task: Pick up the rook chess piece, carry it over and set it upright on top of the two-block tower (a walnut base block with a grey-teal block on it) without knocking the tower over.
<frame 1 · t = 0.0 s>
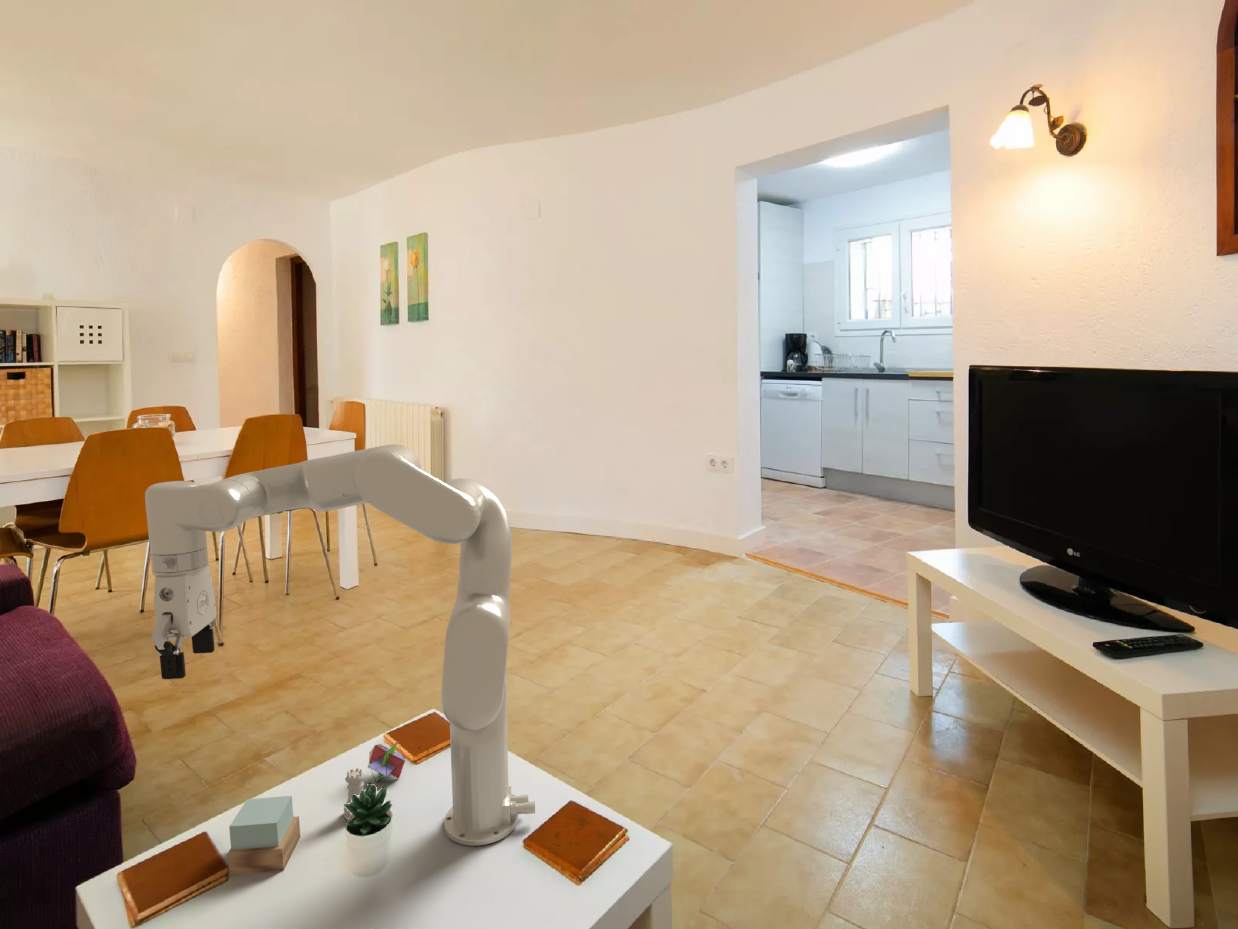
hand: (189, 664, 111), 31 cm above the table, tool pointing down, fingers open, 9 cm apart
tower base: (266, 856, 113), on the table, touching tower top
geometric puzzle: (387, 778, 134), on the table
rook chess piece: (357, 815, 123), on the table
tower top: (263, 833, 112), point 4 cm above the table, touching tower base
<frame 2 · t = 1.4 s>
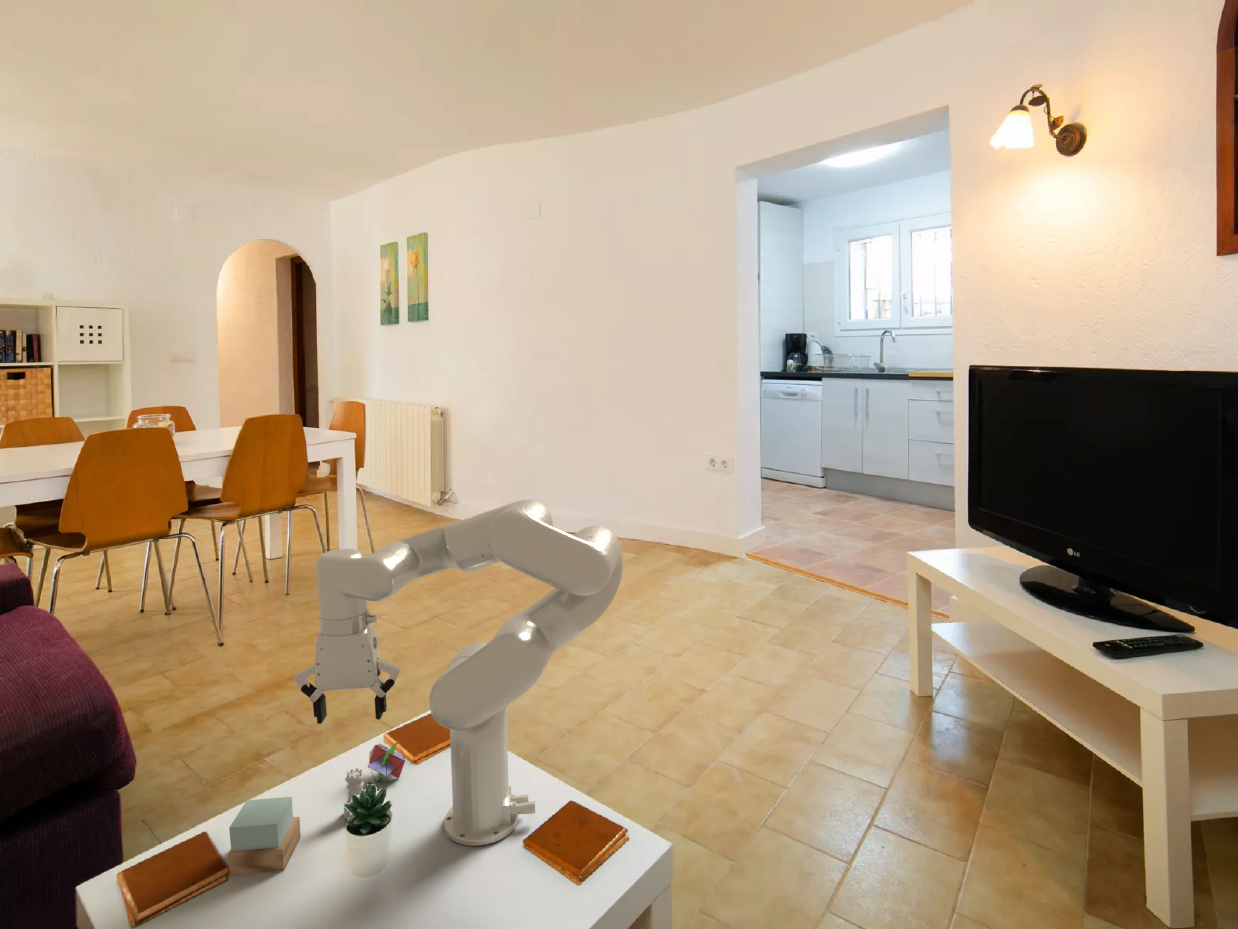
hand: (351, 717, 120), 18 cm above the table, tool pointing down, fingers open, 9 cm apart
nothing on the table moved.
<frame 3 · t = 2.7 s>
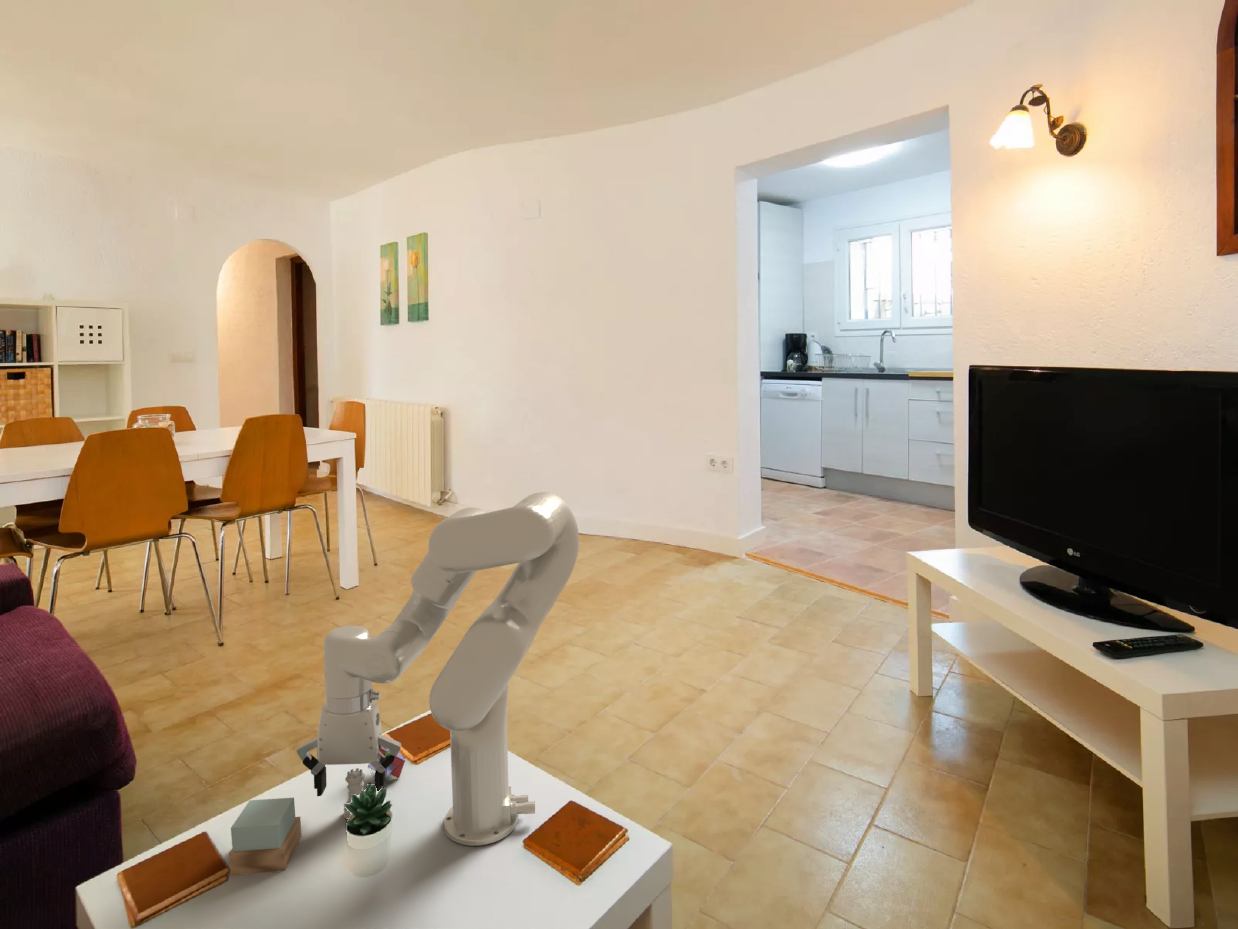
hand: (350, 790, 122), 4 cm above the table, tool pointing down, fingers open, 9 cm apart
nothing on the table moved.
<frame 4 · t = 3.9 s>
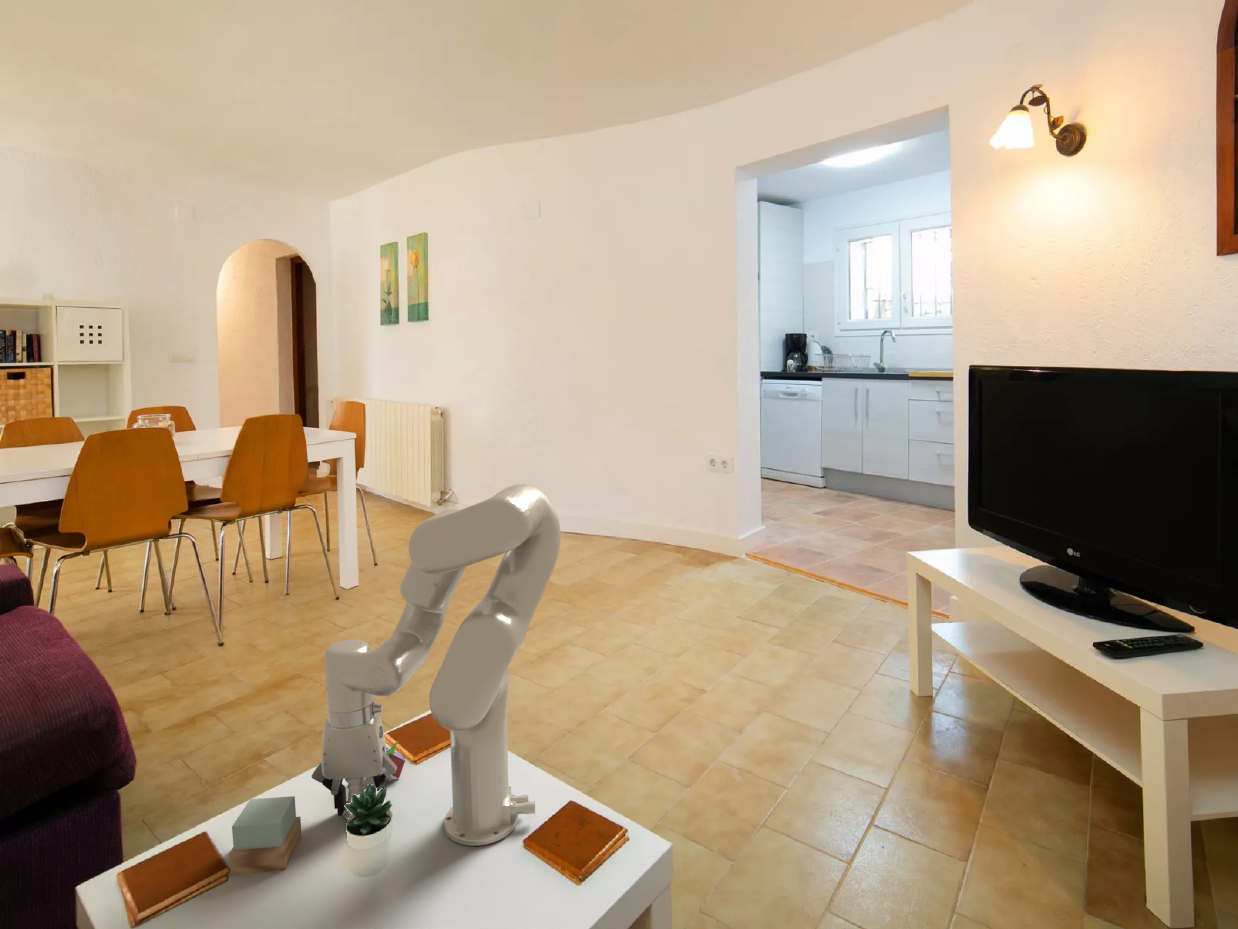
hand: (356, 809, 123), 1 cm above the table, tool pointing down, fingers closed on rook chess piece, 4 cm apart
rook chess piece: (357, 815, 123), on the table, touching gripper
everything else where it was.
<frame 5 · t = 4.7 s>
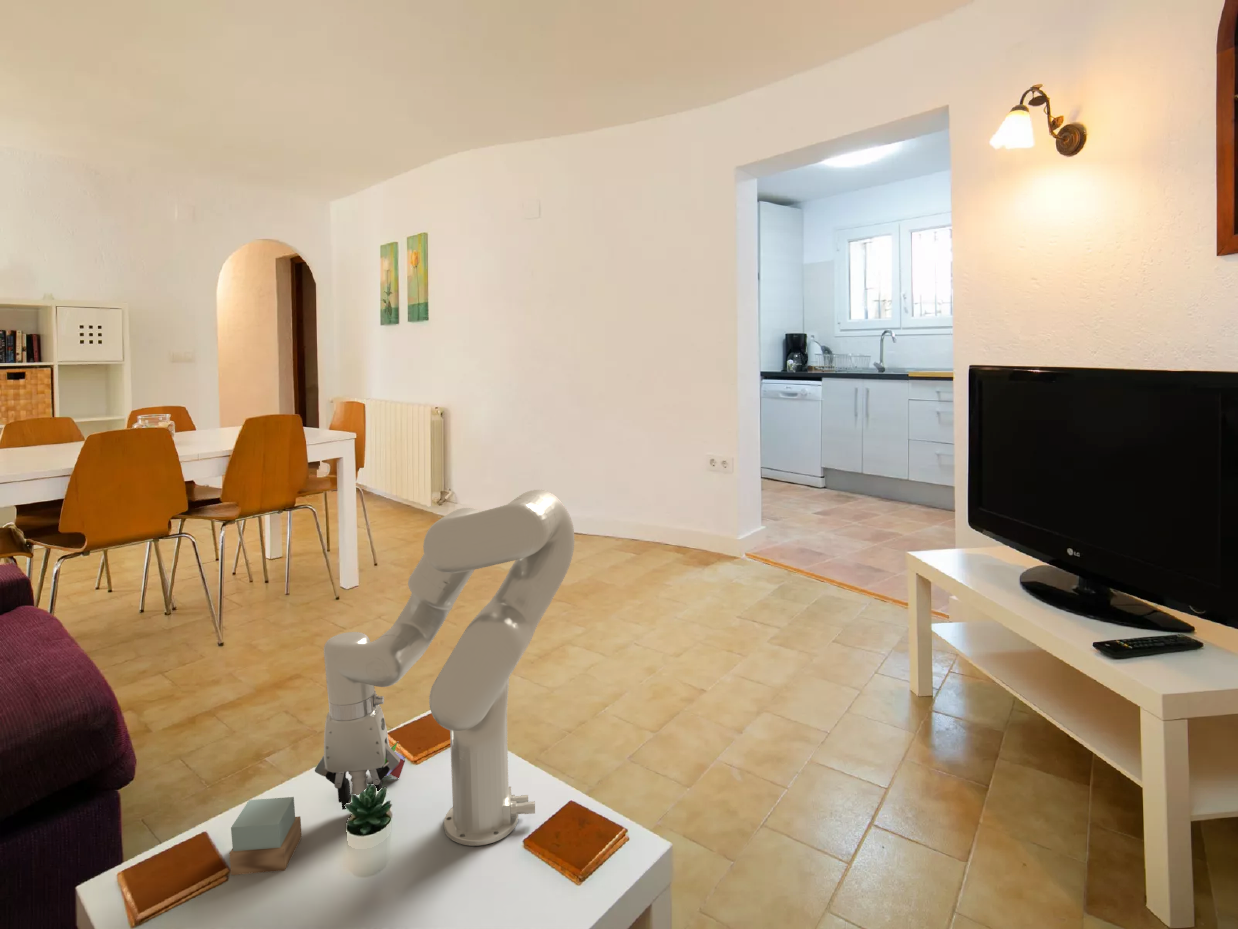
hand: (361, 802, 123), 2 cm above the table, tool pointing down, fingers closed on rook chess piece, 4 cm apart
rook chess piece: (361, 808, 123), point 1 cm above the table, touching gripper
everything else where it was.
when the fingers open (9 cm above the table, at t = 10.8 s): rook chess piece stays where it is, point 8 cm above the table.
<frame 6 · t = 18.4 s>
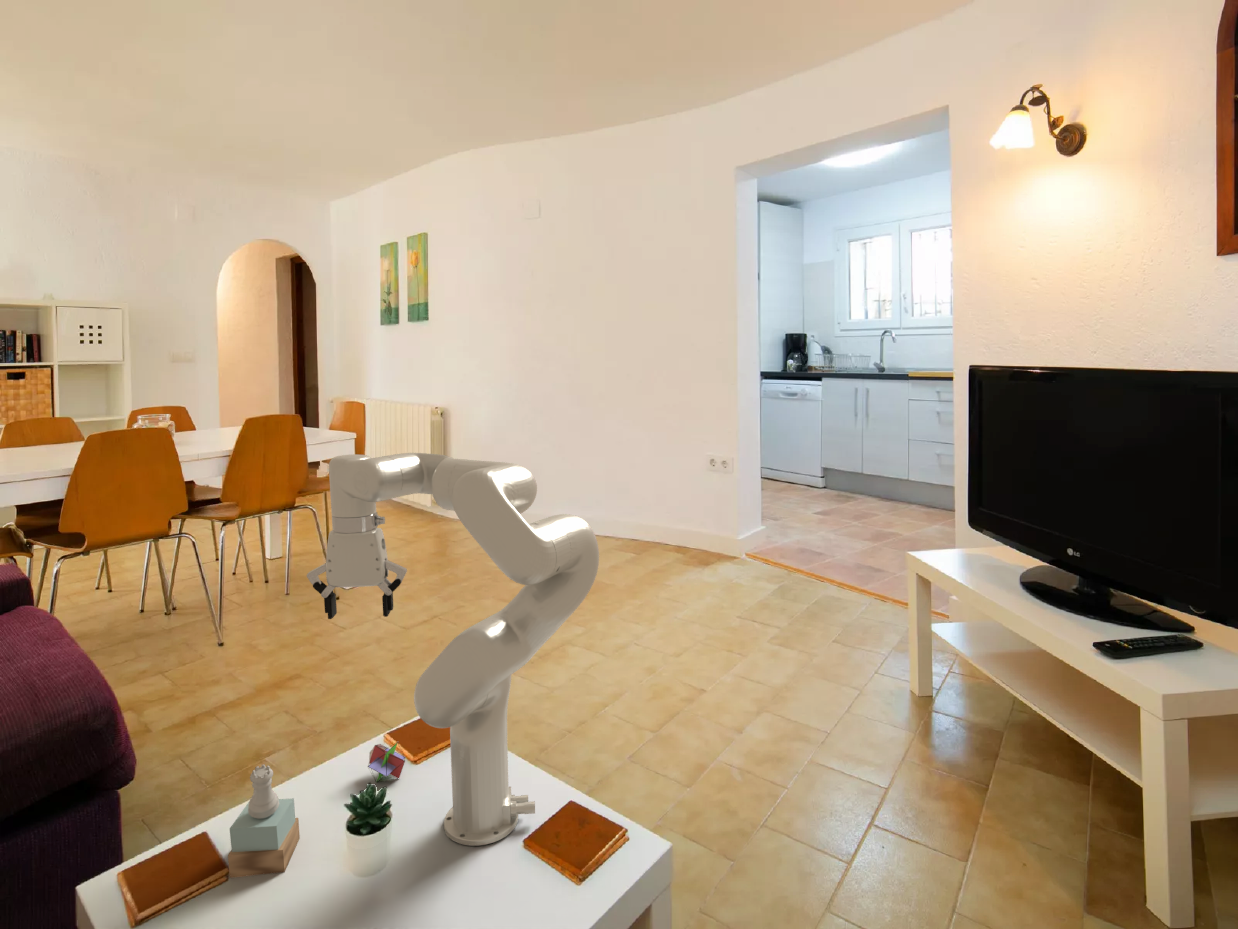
hand: (359, 615, 127), 33 cm above the table, tool pointing down, fingers open, 9 cm apart
rook chess piece: (264, 809, 111), point 8 cm above the table
everything else where it was.
at the end: rook chess piece 0.4 cm off-centre on the tower top, point 4.1 cm above the tower top's base; tower top 0.0 cm off-centre on the tower base, point 4.0 cm above the tower base's base; rook chess piece tilted 9° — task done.
